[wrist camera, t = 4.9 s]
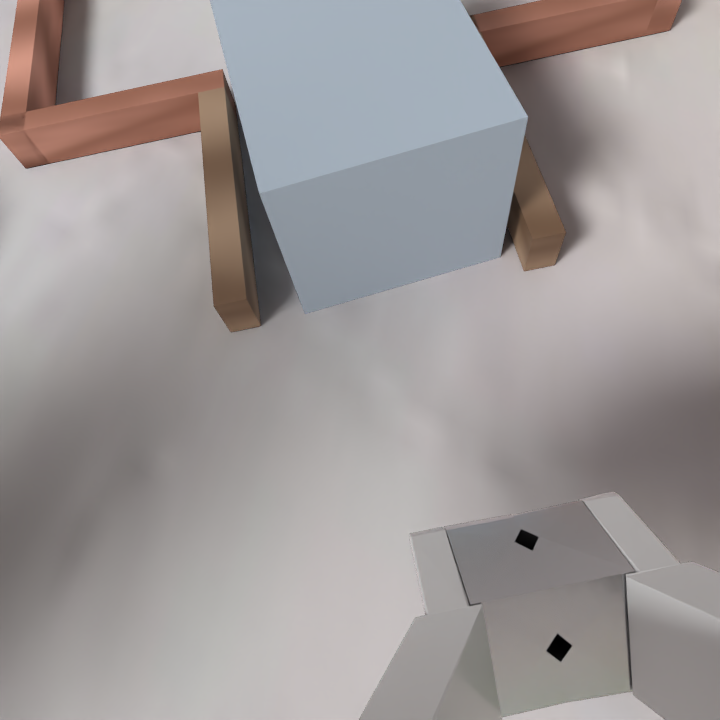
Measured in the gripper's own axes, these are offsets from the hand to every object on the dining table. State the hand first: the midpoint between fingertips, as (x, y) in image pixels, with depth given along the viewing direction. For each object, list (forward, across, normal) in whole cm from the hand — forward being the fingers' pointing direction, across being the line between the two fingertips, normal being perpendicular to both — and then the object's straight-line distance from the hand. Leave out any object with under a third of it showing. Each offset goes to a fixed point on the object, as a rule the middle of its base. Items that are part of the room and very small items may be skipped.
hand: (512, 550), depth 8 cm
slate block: (+20, 0, -5) cm, 20 cm away
